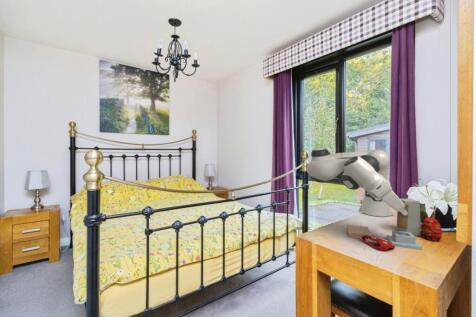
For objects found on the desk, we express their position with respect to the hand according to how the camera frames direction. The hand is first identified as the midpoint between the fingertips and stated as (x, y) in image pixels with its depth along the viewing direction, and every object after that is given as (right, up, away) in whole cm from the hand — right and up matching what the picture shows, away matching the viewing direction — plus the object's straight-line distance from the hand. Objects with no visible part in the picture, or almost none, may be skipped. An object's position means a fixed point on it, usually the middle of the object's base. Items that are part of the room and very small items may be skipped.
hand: (404, 212), depth 99 cm
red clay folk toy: (+16, -13, +6) cm, 22 cm away
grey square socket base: (0, -13, +1) cm, 13 cm away
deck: (-13, -12, +12) cm, 22 cm away
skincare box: (+11, -13, +14) cm, 22 cm away
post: (-1, -6, +1) cm, 6 cm away
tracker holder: (-12, -13, -2) cm, 18 cm away
